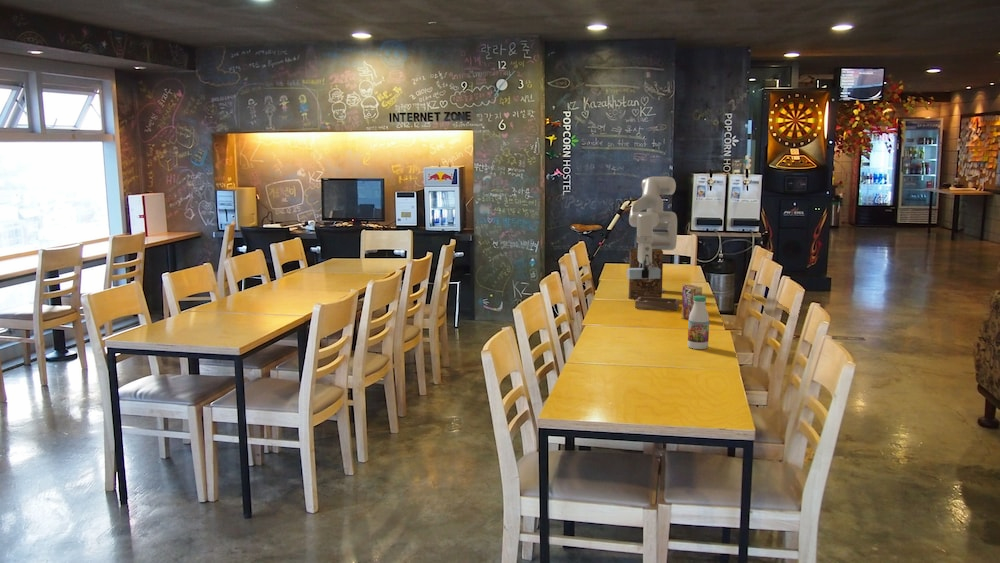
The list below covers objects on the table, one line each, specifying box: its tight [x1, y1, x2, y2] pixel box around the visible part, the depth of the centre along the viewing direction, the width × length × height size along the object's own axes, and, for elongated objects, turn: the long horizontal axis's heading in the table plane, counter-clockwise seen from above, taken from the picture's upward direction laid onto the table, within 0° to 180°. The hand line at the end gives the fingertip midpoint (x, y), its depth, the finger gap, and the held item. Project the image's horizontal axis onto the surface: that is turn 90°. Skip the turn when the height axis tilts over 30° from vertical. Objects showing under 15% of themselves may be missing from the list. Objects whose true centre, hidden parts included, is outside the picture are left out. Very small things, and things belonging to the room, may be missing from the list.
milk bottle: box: [687, 295, 710, 350], centre depth 303 cm, size 8×8×20 cm
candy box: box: [681, 283, 703, 321], centre depth 353 cm, size 9×4×15 cm, turn 26°
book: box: [628, 248, 664, 300], centre depth 401 cm, size 16×6×25 cm, turn 84°
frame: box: [634, 297, 680, 312], centre depth 380 cm, size 12×19×4 cm, turn 73°
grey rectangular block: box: [626, 267, 661, 280], centre depth 381 cm, size 15×5×4 cm, turn 95°
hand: (643, 276), depth 381 cm, fingers closed on grey rectangular block, 5 cm apart
